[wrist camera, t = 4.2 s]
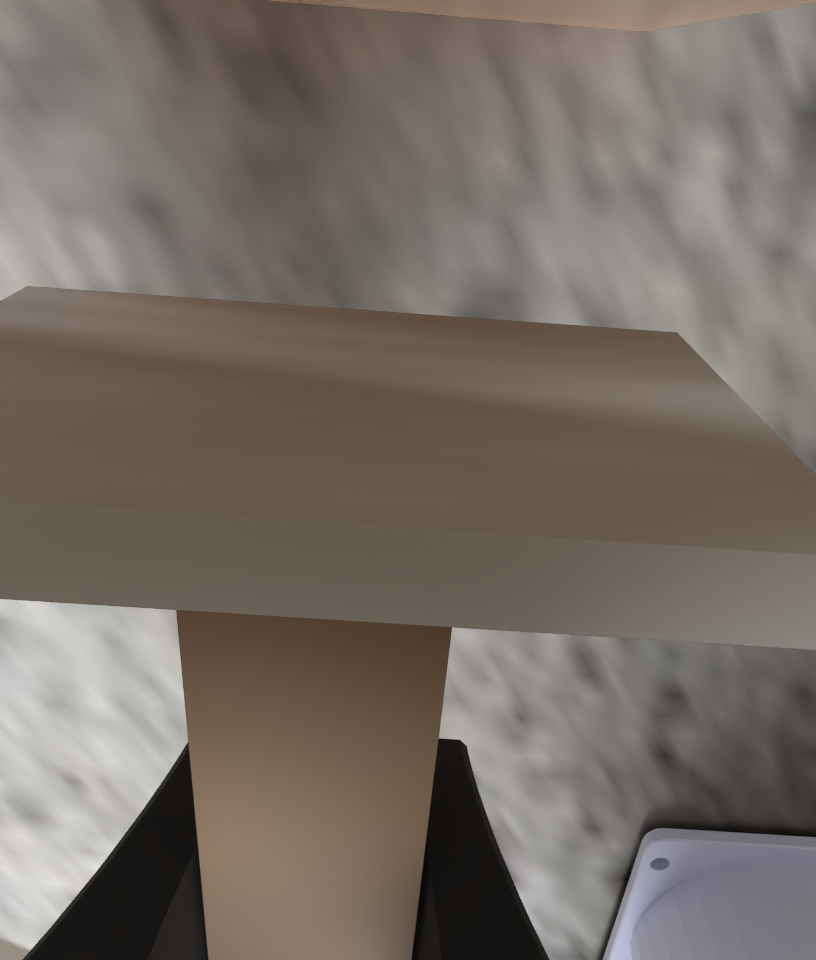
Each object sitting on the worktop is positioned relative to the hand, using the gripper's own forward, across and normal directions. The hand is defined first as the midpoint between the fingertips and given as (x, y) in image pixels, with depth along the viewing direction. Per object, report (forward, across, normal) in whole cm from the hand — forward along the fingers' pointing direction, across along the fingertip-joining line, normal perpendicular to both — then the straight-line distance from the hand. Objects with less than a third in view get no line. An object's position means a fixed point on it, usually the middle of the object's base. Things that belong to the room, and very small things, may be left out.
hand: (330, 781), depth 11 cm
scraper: (+2, 0, 0) cm, 2 cm away
